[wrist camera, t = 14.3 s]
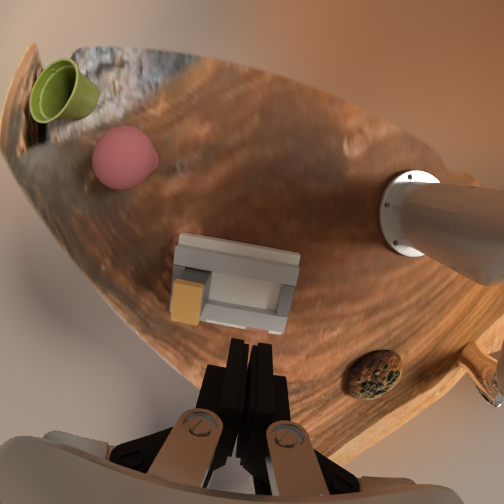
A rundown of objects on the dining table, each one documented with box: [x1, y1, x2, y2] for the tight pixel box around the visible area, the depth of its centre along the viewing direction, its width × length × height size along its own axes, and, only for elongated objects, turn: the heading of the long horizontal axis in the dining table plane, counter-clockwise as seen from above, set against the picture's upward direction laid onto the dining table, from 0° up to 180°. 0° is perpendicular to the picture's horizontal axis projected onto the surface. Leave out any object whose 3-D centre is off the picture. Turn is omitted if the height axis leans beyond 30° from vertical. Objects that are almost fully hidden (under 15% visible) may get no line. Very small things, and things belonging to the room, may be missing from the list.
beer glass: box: [457, 342, 504, 408], centre depth 34 cm, size 7×7×15 cm
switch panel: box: [170, 232, 300, 335], centre depth 38 cm, size 16×12×3 cm
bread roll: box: [348, 350, 403, 400], centre depth 41 cm, size 11×11×5 cm
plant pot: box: [30, 58, 99, 123], centre depth 28 cm, size 9×9×9 cm
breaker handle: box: [171, 267, 212, 326], centre depth 34 cm, size 3×5×7 cm
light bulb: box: [92, 126, 159, 190], centre depth 29 cm, size 7×7×12 cm
